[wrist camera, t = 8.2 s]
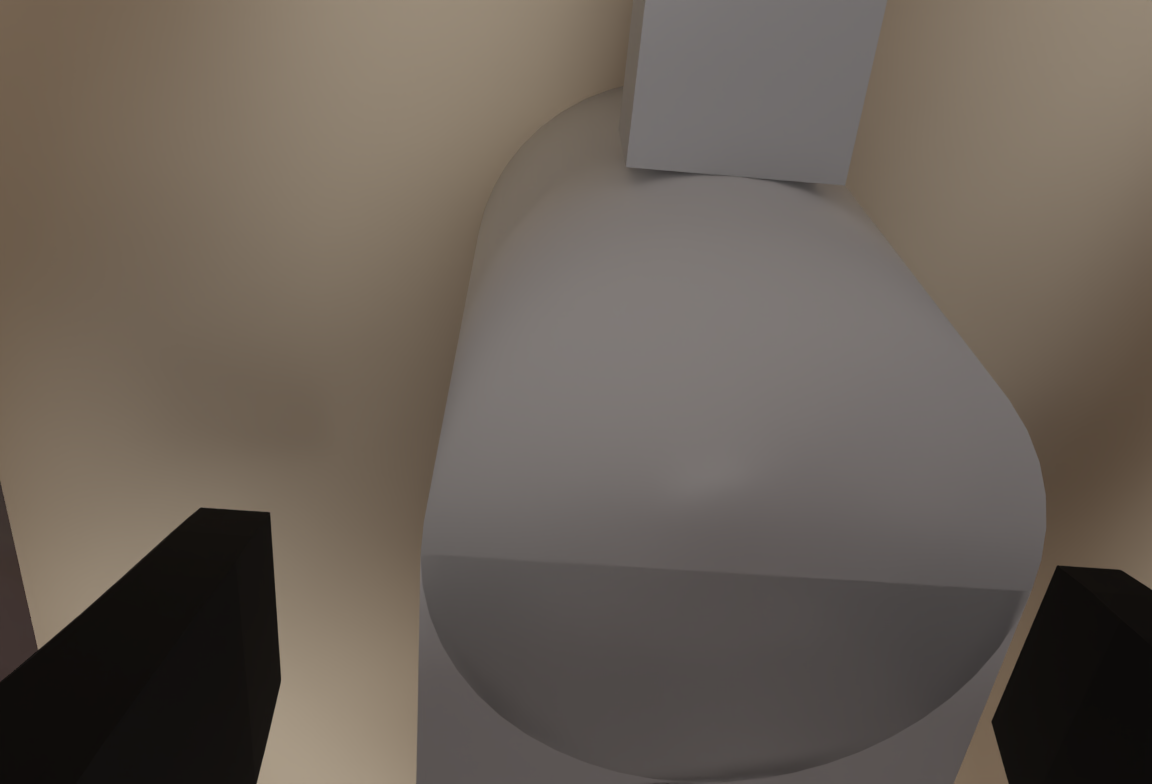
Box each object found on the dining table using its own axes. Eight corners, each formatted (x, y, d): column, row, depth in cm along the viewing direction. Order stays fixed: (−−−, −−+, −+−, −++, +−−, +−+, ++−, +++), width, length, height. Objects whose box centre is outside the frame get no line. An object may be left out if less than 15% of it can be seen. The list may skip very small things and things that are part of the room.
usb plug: (937, -104, 9) (1280, -24, 5) (749, 684, 14) (834, 1077, 10) (493, -149, 9) (431, -109, 5) (457, 668, 14) (410, 1063, 9)
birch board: (1614, -476, 9) (1755, -515, 8) (980, 886, 18) (1005, 952, 17) (-175, -717, 8) (-286, -799, 7) (125, 846, 17) (96, 912, 16)
